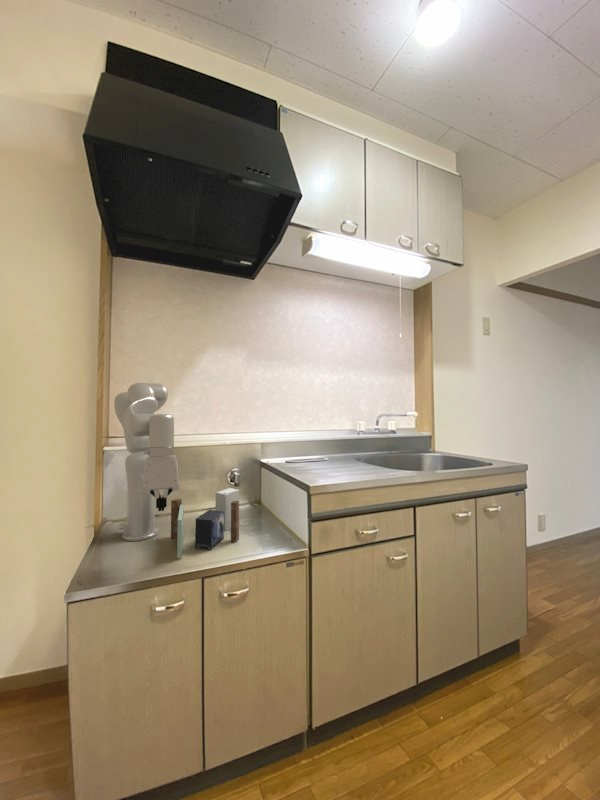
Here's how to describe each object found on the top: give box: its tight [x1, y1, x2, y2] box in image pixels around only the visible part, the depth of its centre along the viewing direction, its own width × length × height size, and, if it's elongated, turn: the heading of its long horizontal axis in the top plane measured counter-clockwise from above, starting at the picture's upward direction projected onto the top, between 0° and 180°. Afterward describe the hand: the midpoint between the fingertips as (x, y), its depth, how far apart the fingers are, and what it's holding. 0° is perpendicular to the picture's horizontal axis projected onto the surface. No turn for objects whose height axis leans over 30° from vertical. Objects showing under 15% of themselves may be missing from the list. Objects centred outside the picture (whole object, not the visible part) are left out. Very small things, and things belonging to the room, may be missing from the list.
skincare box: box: [215, 487, 240, 532], centre depth 133 cm, size 8×6×15 cm
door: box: [174, 503, 185, 559], centre depth 114 cm, size 19×3×12 cm, turn 18°
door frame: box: [170, 498, 240, 543], centre depth 121 cm, size 25×3×14 cm, turn 83°
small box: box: [194, 509, 225, 551], centre depth 117 cm, size 11×6×10 cm, turn 169°
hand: (161, 509), depth 105 cm, fingers closed
